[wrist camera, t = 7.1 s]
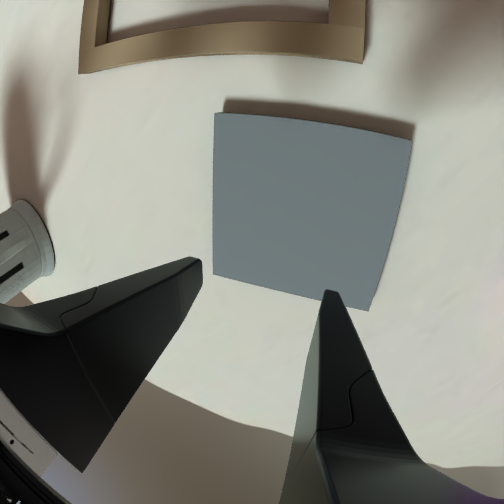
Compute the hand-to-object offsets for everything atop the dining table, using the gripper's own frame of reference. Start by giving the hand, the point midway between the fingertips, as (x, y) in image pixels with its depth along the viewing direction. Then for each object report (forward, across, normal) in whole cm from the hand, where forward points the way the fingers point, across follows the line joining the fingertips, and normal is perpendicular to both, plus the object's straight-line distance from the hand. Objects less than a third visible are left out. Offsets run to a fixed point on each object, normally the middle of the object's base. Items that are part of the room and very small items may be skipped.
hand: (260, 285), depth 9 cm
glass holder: (+7, +24, +6) cm, 26 cm away
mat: (+7, 0, 0) cm, 7 cm away
